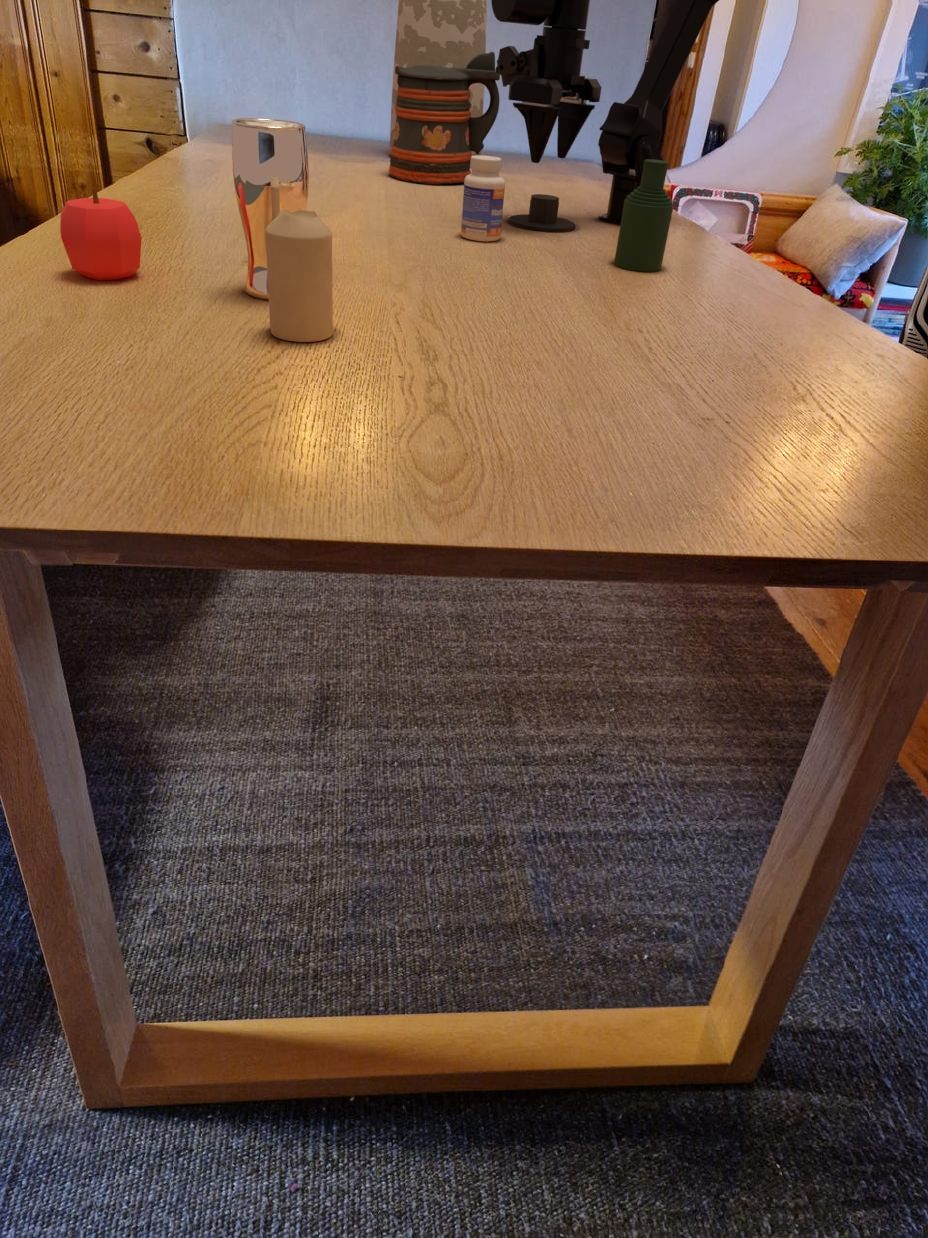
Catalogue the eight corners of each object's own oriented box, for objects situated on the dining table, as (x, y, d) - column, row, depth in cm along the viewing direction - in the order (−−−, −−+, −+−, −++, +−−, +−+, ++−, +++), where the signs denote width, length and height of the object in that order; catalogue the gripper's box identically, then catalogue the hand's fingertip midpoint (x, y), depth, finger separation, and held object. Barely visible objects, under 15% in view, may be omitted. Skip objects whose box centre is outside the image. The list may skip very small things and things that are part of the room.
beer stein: (478, 174, 165) (488, 49, 154) (503, 187, 154) (515, 54, 143) (381, 169, 160) (384, 40, 149) (399, 183, 149) (404, 44, 137)
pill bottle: (496, 244, 115) (504, 161, 109) (456, 238, 115) (462, 157, 110) (503, 236, 119) (510, 157, 113) (464, 231, 120) (470, 152, 114)
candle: (305, 346, 74) (301, 221, 68) (257, 332, 76) (249, 209, 71) (345, 333, 78) (345, 213, 72) (298, 320, 80) (294, 202, 75)
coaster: (525, 214, 134) (526, 211, 134) (585, 225, 130) (585, 222, 130) (496, 223, 126) (497, 219, 126) (559, 235, 123) (559, 231, 123)
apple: (125, 261, 92) (114, 179, 88) (163, 279, 88) (153, 193, 83) (50, 269, 88) (34, 182, 83) (86, 288, 83) (71, 197, 79)
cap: (550, 218, 130) (553, 194, 128) (559, 224, 127) (563, 199, 125) (525, 217, 129) (527, 193, 127) (533, 223, 126) (536, 198, 124)
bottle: (623, 257, 114) (640, 155, 107) (666, 266, 112) (687, 162, 105) (607, 265, 109) (624, 159, 102) (652, 274, 107) (673, 166, 100)
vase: (479, 169, 170) (499, -78, 149) (385, 161, 170) (391, -89, 148) (479, 156, 187) (497, -68, 165) (393, 148, 186) (400, -78, 165)
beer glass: (252, 303, 83) (241, 126, 75) (233, 284, 88) (220, 116, 80) (321, 299, 86) (318, 128, 78) (298, 281, 91) (293, 118, 83)
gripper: (538, 25, 124) (525, 148, 133) (478, 19, 110) (468, 156, 119) (610, 33, 120) (592, 158, 129) (558, 27, 107) (541, 168, 115)
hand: (548, 160), depth 123 cm, fingers open, 9 cm apart
